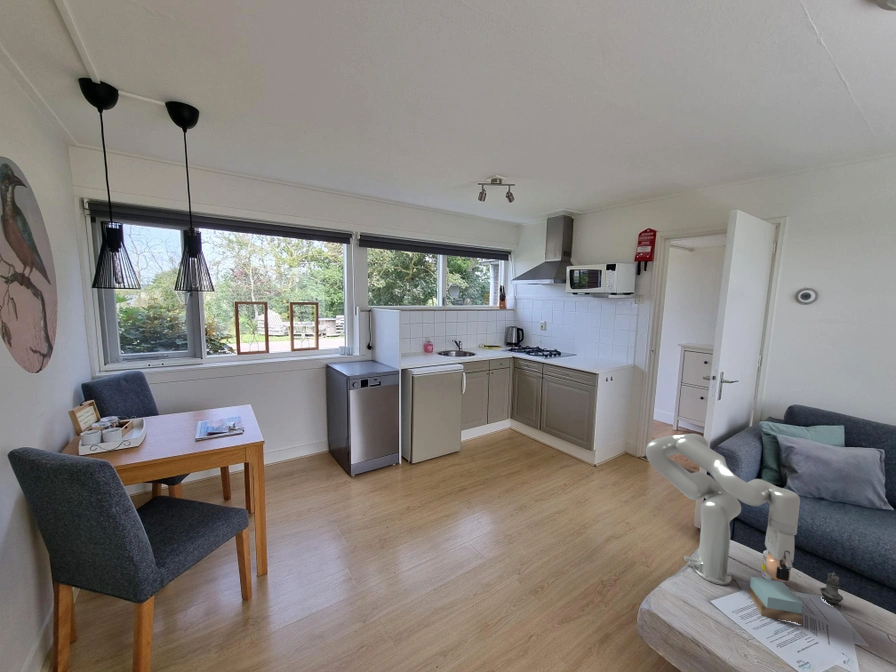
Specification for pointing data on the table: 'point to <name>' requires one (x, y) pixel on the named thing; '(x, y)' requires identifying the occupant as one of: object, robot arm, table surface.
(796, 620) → the tower base block
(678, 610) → the table surface
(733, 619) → the table surface
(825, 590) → the dark grey figurine
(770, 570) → the brown egg
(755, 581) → the tower top block
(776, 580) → the supplement bottle
